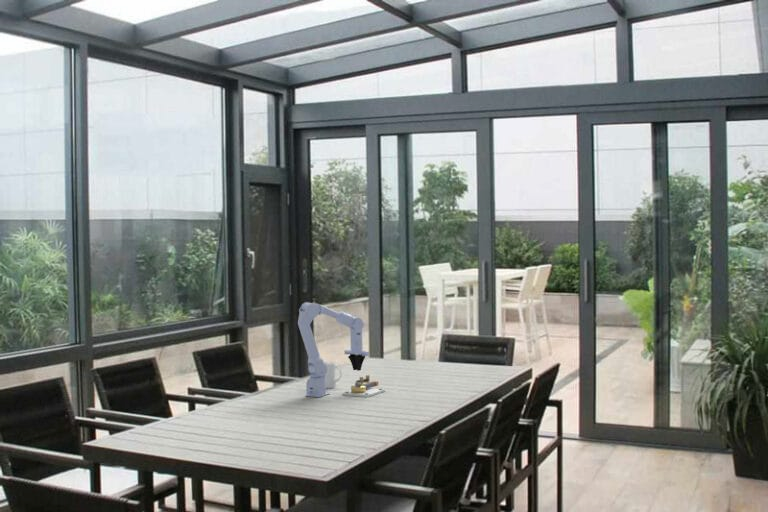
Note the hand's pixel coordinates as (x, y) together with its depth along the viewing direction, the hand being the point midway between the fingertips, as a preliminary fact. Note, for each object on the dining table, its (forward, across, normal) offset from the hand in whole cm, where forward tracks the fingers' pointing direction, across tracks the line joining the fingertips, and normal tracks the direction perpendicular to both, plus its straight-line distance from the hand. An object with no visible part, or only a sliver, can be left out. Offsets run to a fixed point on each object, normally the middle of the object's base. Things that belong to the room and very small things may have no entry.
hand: (357, 370), depth 430 cm
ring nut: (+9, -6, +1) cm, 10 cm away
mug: (+10, +18, 0) cm, 21 cm away
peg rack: (+10, +5, -11) cm, 15 cm away
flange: (+10, -8, +4) cm, 13 cm away
